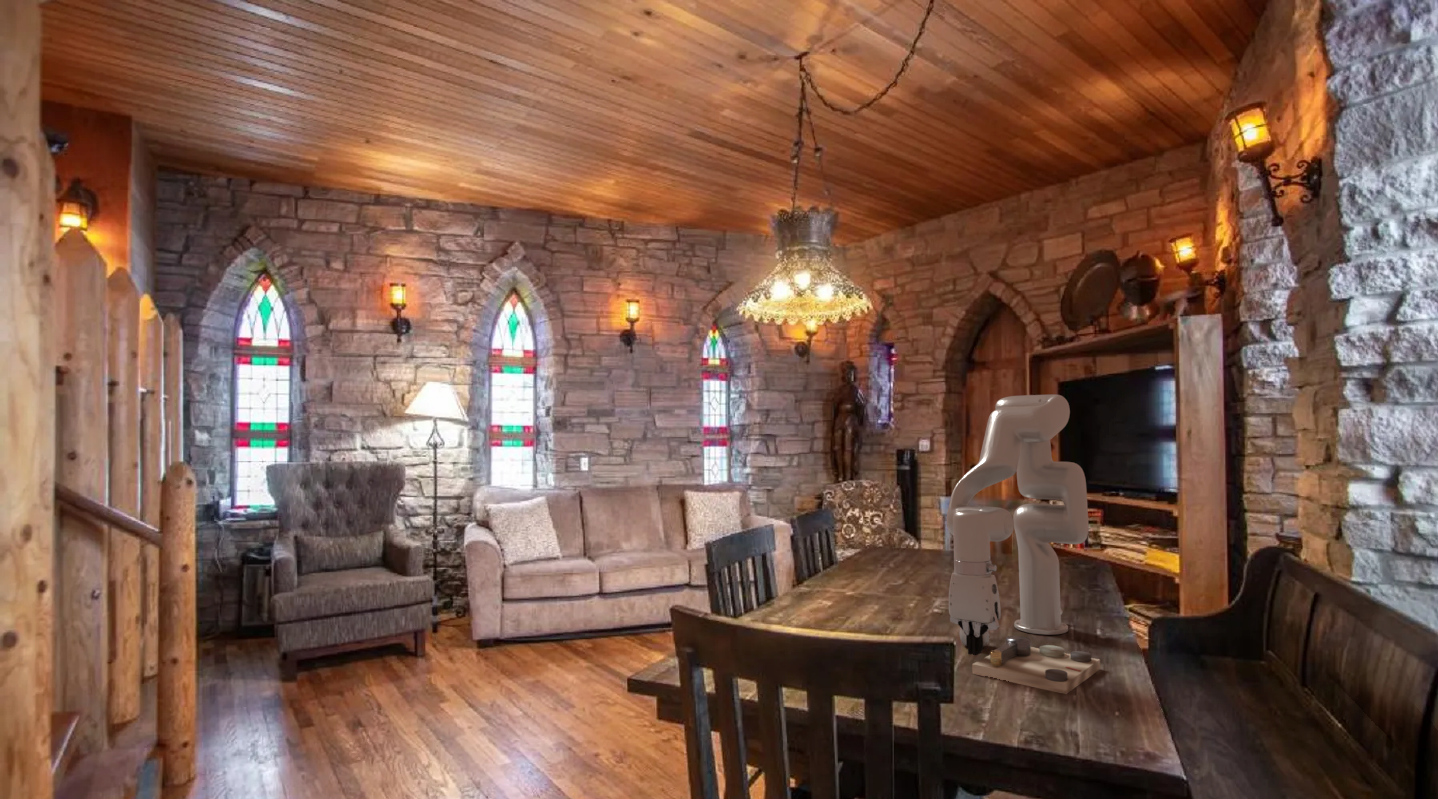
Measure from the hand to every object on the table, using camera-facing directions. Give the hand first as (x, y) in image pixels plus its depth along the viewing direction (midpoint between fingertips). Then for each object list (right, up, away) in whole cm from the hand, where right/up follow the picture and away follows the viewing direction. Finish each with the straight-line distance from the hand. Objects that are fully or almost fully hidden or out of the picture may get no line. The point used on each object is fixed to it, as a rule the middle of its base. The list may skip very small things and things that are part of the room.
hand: (975, 653), depth 165 cm
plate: (+12, -3, -4) cm, 13 cm away
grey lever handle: (+7, 0, -2) cm, 7 cm away
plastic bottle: (+5, -4, +15) cm, 16 cm away
